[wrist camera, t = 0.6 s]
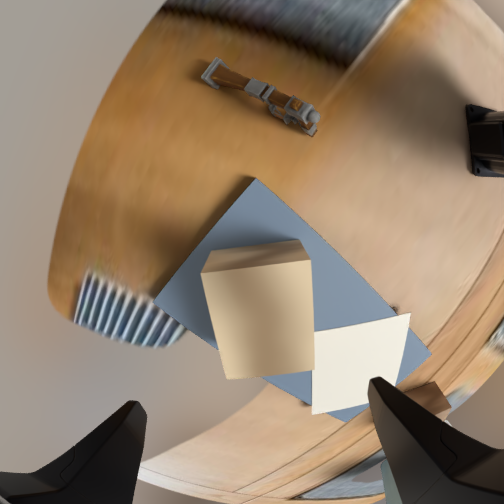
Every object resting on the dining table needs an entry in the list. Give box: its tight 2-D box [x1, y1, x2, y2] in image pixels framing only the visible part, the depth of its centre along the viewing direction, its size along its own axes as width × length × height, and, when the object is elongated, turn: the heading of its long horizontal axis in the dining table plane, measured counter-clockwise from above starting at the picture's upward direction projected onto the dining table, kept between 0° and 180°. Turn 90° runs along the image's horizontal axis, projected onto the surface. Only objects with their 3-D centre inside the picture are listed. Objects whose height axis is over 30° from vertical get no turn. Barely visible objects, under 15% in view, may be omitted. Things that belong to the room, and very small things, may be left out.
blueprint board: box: [153, 178, 432, 422], centre depth 21 cm, size 25×14×1 cm, turn 49°
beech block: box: [201, 240, 315, 379], centre depth 18 cm, size 6×8×4 cm
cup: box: [381, 459, 402, 504], centre depth 26 cm, size 8×8×10 cm
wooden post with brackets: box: [201, 57, 320, 137], centre depth 15 cm, size 2×8×4 cm, turn 57°
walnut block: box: [404, 382, 452, 421], centre depth 23 cm, size 5×6×5 cm
